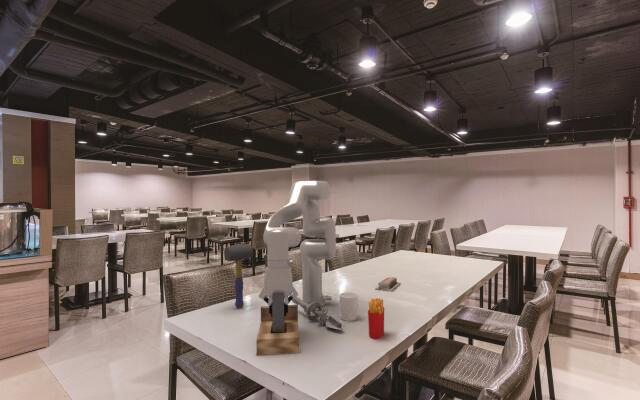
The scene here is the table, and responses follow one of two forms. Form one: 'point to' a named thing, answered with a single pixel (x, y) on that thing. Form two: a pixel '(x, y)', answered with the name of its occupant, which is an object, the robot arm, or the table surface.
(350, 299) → the white cup
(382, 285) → the packaged product
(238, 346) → the table surface
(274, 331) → the brushed grey post
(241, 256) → the rubber mallet
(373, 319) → the french fries
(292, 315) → the wooden frame stool
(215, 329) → the table surface
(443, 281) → the table surface
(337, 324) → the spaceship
